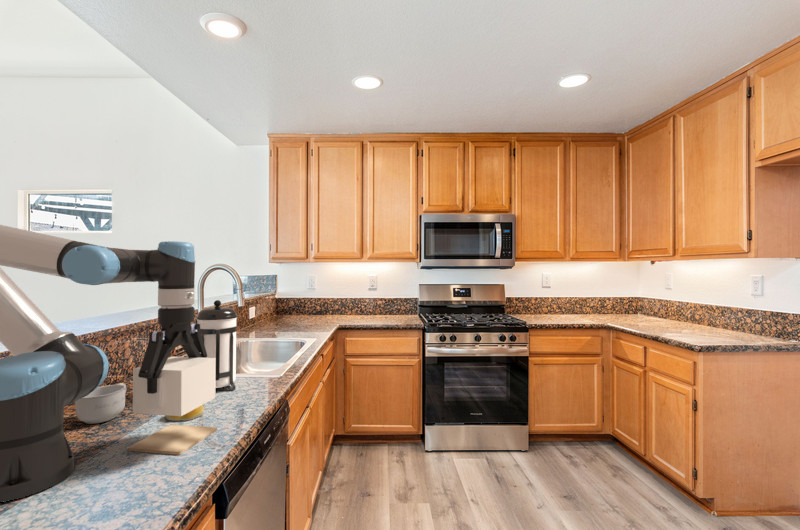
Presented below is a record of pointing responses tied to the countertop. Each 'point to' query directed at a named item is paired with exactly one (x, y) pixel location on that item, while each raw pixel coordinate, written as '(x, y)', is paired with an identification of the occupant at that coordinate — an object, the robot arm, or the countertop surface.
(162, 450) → the board
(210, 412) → the countertop surface
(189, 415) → the bread roll
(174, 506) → the countertop surface
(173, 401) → the cover
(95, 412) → the teacup
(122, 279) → the robot arm
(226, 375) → the coffee press
